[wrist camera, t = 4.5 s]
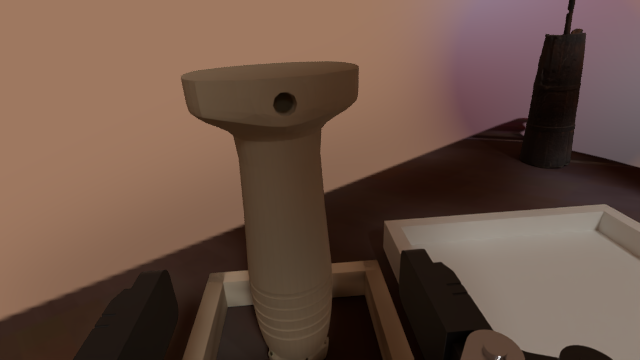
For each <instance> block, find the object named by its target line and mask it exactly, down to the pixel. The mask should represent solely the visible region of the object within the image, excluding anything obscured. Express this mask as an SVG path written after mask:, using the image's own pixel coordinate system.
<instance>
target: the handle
mask: <svg viewBox="0 0 640 360" xmlns="http://www.w3.org/2000/svg"><path fill="white" fill-rule="evenodd" d="M358 71H359V68H358V66H357V65H355V64H351V63H345V62H291V63H272V64H258V65H244V66H234V67H224V68H215V69H206V70H198V71H193V72H190V73H186V74H183V75H182V76H181V80H182V85H183V90H184V95H185V100H186V104H187V107H188V110H189V112H190V113H191V114H192V115H194V116H195V117H197V118H198V119H200V120H202V121H204V122H205V123H208V124H211V125H214V126H216V127H219V128H221V129H224V130H226V131H228V132H229V133H231V134H232V135H233V136H234V140H235V145H236V149H237V153H238V157H239V166H240V175H241V186H242V197H243V206H244V218H245V233H246V247H247V260H248V274H249V281H250V287H251V294H252V299H253V304H254V308H255V312H256V316H257V320H258V324H259V327H260V330H261V333H262V335H263V337H264V340H265V342H266V344H267V345H268V347H269V352H268V355H269V358H270V360H324V359H325V358H326V355H327V351H328V344H329V337H327V334H328V330H329V325H330V317H331V308H332V267H331V266H332V264H331V255H330V246H329V237H328V228H327V220H326V211H325V201H324V190H323V179H322V168H321V157H320V145H321V128H322V127H323V126H324V124H325V123H326V122H327V121H329V120H330V119H332V118H333V117H335V116H336V115H338V114H339V113H341V112H343V111H344V110H346V109H347V108H348V107H350V106H351V105H352V104H353V103H354V102H355V101H356V99H357V96H358Z"/></svg>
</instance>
